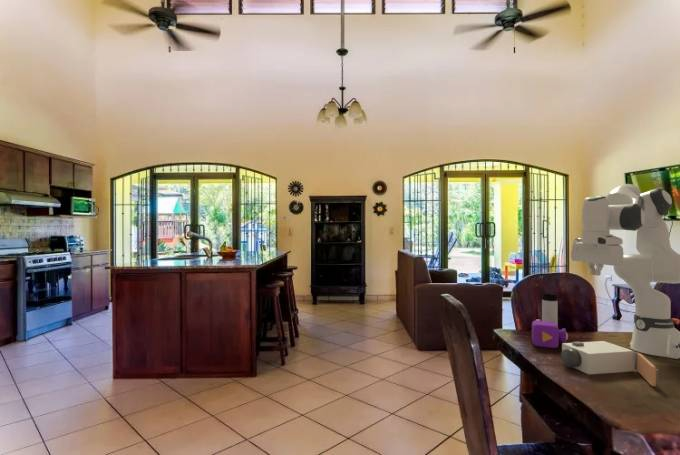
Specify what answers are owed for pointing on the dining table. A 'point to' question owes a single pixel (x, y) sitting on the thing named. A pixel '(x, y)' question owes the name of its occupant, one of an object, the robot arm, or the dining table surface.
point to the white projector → (597, 357)
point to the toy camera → (547, 334)
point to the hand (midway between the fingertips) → (595, 275)
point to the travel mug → (550, 308)
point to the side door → (645, 368)
